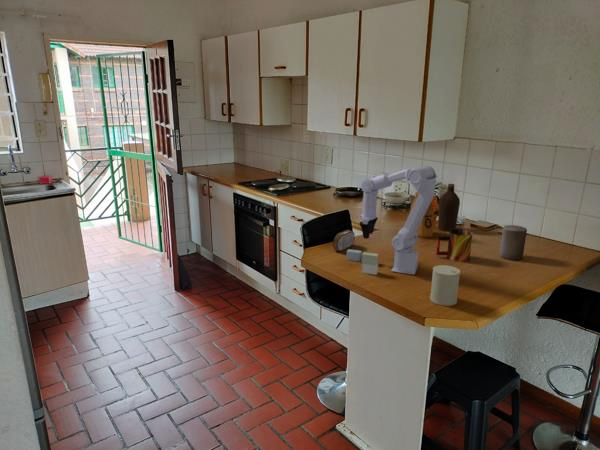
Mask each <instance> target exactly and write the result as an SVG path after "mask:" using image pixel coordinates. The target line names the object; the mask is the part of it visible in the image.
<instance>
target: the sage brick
mask: <svg viewBox="0 0 600 450" xmlns="http://www.w3.org/2000/svg"><path fill="white" fill-rule="evenodd" d="M362 253H363V254H362ZM362 253H361V254H362V263H361V265H362V264H368V265H375V266H377V264H378V265H379V253H375V252H365V251H364V252H362Z"/></svg>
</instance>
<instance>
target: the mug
mask: <svg viewBox="0 0 600 450" xmlns="http://www.w3.org/2000/svg"><path fill="white" fill-rule="evenodd" d="M448 232H449V235H438V236H437V243H436V248H435V249H436V253H435V255H436V256H446V259H448V260H451V261H454V262H460V263H461V262H464V263H465V262H468V261H470V258H471V251H472V242H473V232H472V231H470V230H467V229H461V228H460V229H459V228H456V229H453V230H450V231H448ZM441 241H448V242H447V251H443V250H442V251H440V248H441V247H440V246H441Z"/></svg>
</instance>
